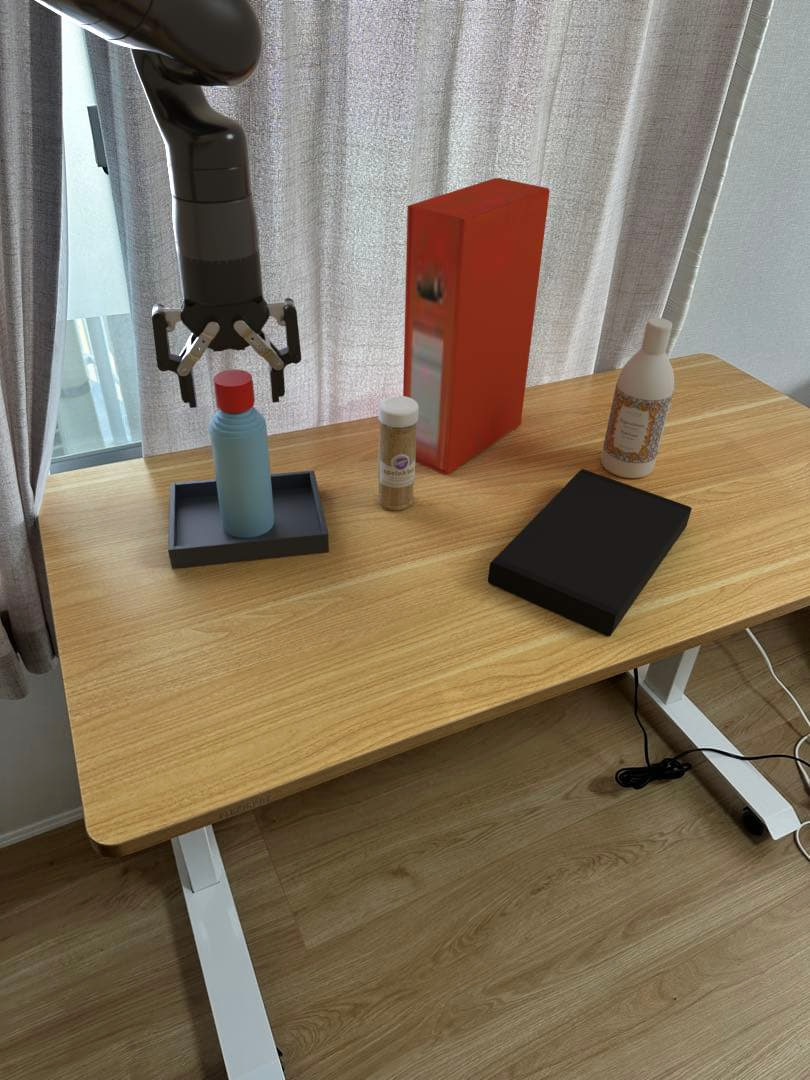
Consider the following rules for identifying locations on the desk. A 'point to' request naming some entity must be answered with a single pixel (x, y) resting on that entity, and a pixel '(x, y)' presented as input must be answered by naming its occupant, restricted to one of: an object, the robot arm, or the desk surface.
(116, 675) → the desk surface
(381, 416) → the sprinkles bottle
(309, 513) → the tray
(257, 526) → the bottle
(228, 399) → the cap
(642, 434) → the bath foam
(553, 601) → the external hard drive
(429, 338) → the file binder
